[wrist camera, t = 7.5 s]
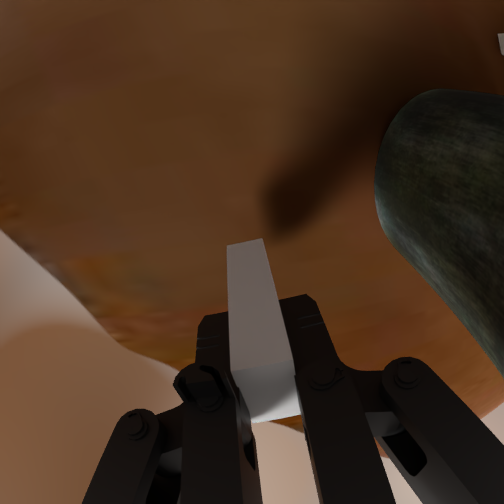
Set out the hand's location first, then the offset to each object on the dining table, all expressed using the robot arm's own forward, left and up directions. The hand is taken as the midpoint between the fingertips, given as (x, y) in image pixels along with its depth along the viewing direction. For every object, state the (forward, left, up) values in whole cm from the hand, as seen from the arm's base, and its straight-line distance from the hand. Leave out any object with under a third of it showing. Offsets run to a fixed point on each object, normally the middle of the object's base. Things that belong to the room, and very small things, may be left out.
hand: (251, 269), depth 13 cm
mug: (0, +12, -3) cm, 12 cm away
